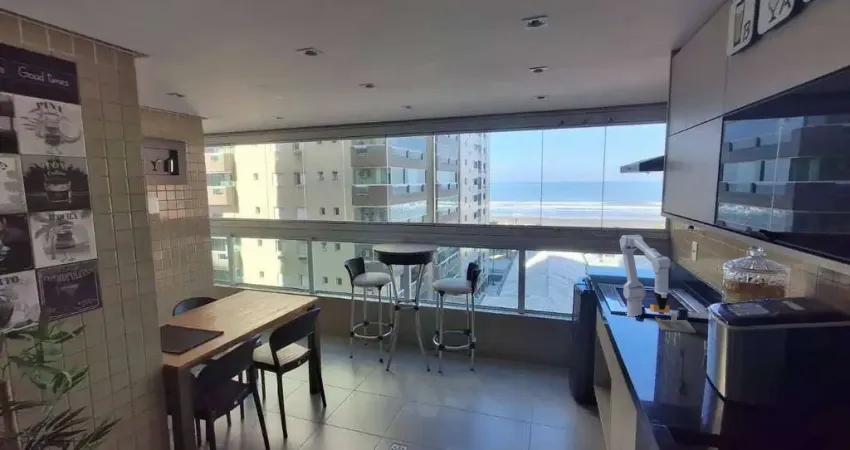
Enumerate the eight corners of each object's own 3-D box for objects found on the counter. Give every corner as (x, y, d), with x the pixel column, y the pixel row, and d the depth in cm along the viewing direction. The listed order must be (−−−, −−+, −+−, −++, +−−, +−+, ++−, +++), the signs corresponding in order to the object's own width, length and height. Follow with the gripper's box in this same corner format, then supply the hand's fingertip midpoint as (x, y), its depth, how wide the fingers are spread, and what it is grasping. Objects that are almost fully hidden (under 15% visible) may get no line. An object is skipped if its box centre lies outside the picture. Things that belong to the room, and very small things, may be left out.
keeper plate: (654, 318, 210) (654, 306, 210) (685, 320, 205) (685, 308, 205) (661, 330, 192) (661, 318, 191) (696, 333, 187) (696, 320, 186)
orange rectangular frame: (650, 311, 206) (650, 304, 206) (665, 312, 203) (665, 305, 204) (653, 311, 196) (653, 304, 196) (669, 312, 193) (669, 305, 194)
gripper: (674, 285, 186) (674, 313, 187) (667, 278, 200) (667, 305, 201) (656, 284, 189) (656, 312, 190) (651, 278, 202) (652, 304, 203)
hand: (661, 308), depth 196 cm, fingers closed on orange rectangular frame, 2 cm apart
